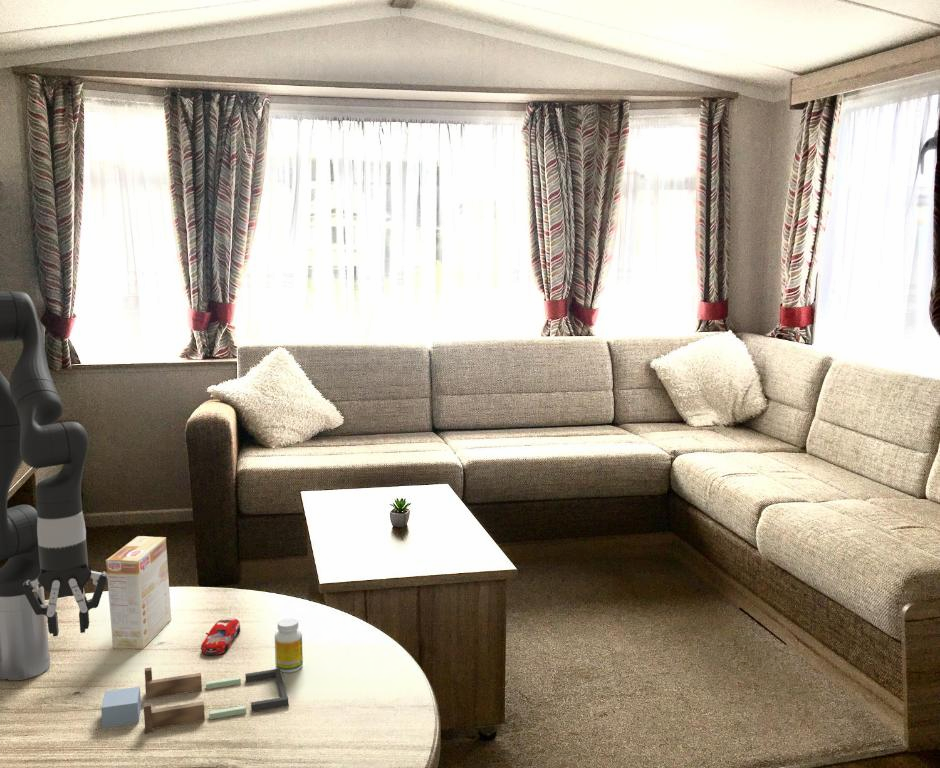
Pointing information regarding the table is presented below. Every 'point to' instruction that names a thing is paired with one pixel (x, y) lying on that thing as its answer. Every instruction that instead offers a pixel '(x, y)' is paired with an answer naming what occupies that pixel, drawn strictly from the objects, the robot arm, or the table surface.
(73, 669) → the table surface
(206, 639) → the race car
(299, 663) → the supplement bottle
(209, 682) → the rails
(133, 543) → the coffeecake box
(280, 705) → the frame
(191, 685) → the channel
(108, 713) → the block
